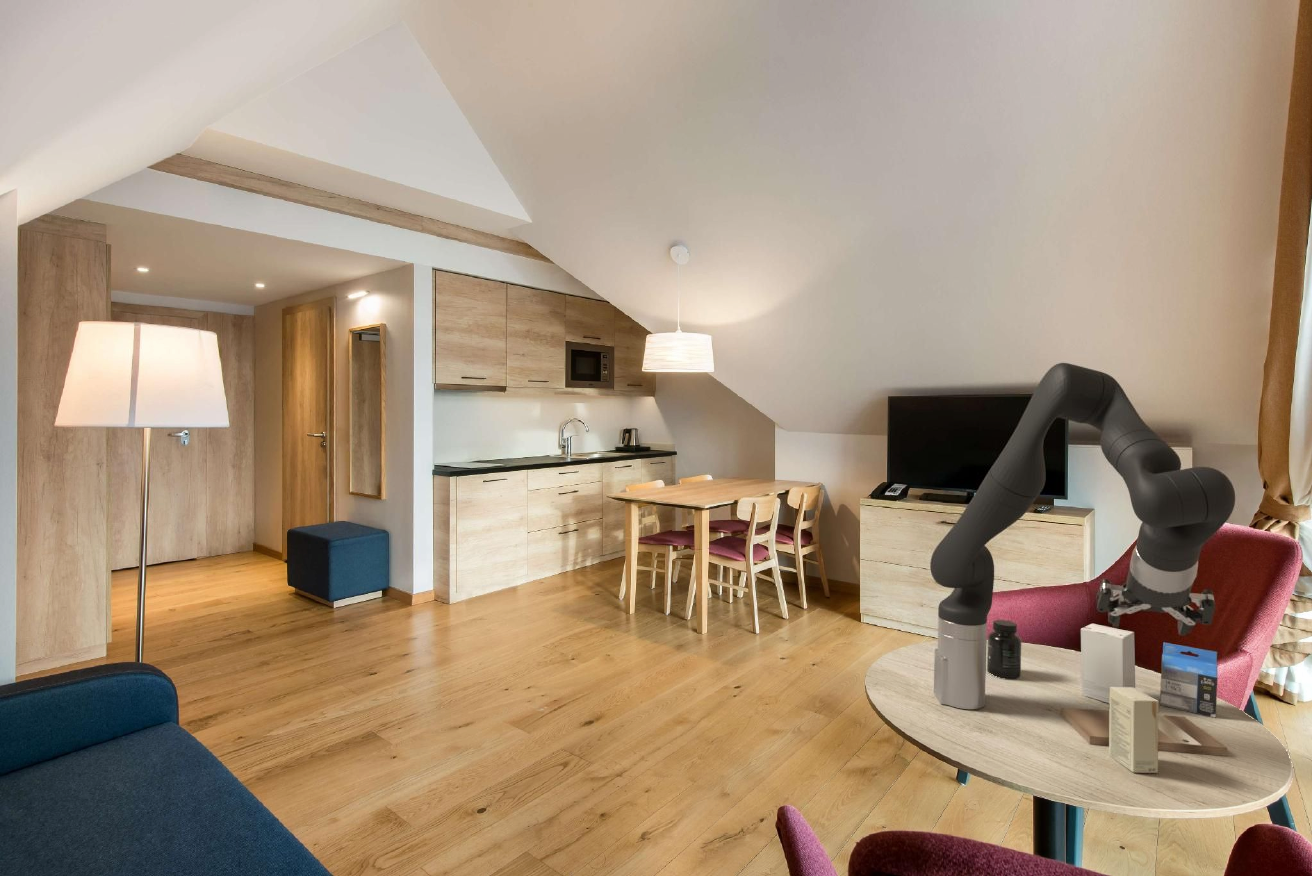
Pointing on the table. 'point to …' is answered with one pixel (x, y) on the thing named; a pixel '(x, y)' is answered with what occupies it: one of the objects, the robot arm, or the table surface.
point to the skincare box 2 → (1133, 729)
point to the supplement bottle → (1004, 650)
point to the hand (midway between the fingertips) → (1147, 626)
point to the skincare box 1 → (1106, 660)
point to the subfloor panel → (1171, 731)
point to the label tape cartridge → (1189, 679)
